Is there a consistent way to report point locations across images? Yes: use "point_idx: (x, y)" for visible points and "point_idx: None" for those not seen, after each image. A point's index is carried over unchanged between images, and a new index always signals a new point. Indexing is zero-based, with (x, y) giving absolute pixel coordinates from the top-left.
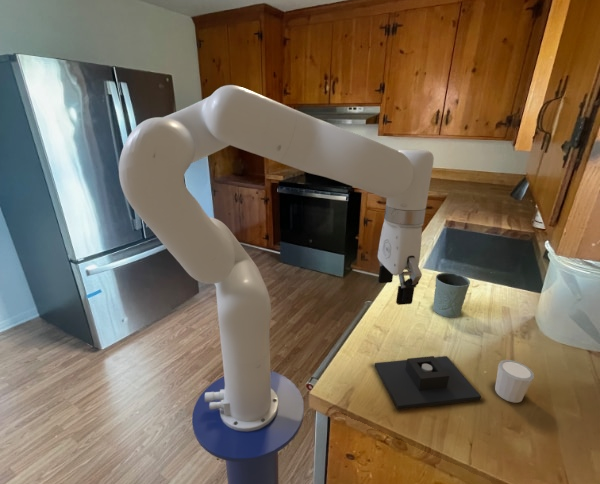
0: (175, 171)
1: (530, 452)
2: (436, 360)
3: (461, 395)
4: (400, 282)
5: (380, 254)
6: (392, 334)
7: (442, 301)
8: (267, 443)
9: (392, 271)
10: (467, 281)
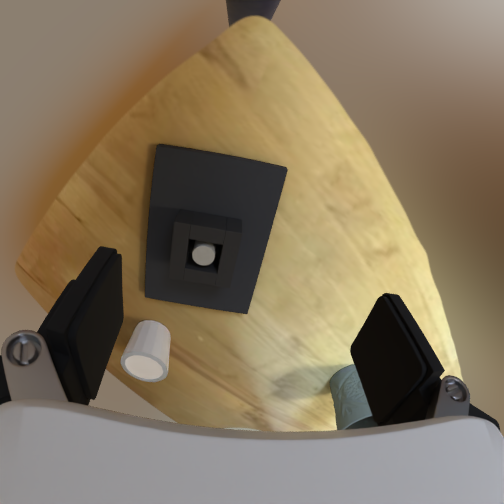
0: None
1: (65, 280)
2: (215, 285)
3: (151, 271)
4: (44, 367)
5: (477, 485)
6: (355, 265)
7: (356, 387)
8: None
9: (37, 432)
10: None
